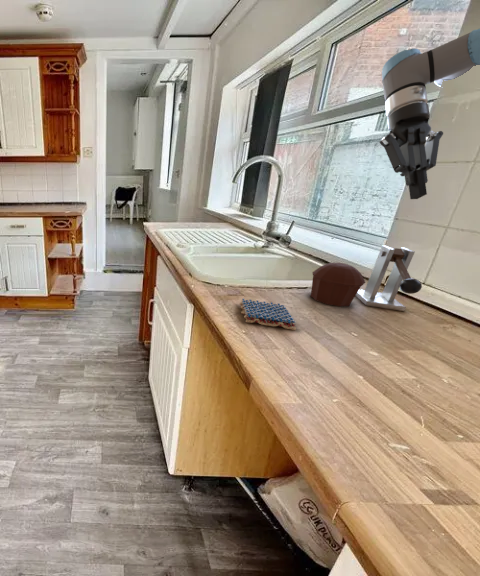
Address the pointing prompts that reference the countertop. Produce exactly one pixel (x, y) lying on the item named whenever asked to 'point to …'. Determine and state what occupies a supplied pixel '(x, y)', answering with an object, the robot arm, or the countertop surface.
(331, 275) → the muffin
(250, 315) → the woven mat
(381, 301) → the silver metal stand
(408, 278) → the arm
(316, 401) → the countertop surface
